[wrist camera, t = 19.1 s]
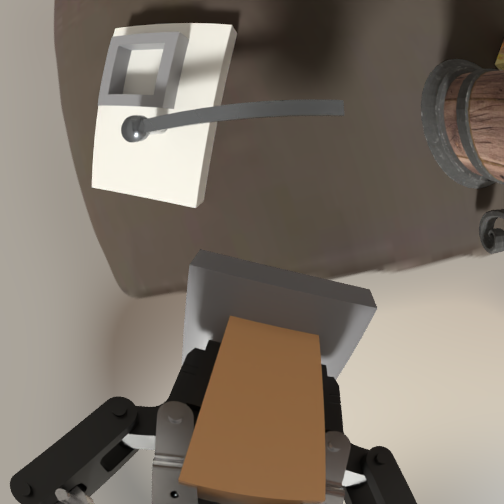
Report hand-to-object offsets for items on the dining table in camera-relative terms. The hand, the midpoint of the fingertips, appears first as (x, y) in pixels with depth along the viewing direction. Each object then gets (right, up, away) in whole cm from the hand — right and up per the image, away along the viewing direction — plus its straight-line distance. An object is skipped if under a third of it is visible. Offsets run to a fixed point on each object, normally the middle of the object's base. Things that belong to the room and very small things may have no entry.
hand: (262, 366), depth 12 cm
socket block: (-11, +22, +16) cm, 29 cm away
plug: (+1, +2, +5) cm, 5 cm away
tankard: (+27, +18, +12) cm, 35 cm away
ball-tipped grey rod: (-3, +16, +8) cm, 18 cm away
